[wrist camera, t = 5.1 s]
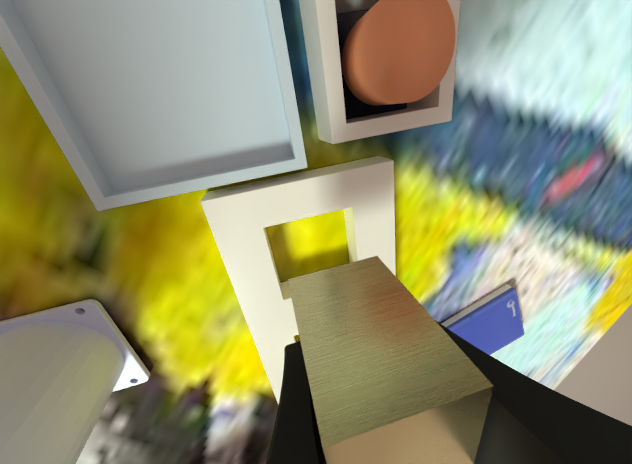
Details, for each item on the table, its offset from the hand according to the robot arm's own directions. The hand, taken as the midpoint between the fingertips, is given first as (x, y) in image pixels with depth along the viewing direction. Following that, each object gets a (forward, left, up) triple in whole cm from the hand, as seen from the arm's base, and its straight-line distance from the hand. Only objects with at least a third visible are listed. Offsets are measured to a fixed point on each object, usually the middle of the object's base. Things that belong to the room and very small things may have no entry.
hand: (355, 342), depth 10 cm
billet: (0, 0, -2) cm, 2 cm away
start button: (+5, +10, -7) cm, 13 cm away
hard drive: (+14, -16, -10) cm, 23 cm away
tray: (-5, +11, -9) cm, 15 cm away
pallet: (0, -5, -9) cm, 10 cm away
